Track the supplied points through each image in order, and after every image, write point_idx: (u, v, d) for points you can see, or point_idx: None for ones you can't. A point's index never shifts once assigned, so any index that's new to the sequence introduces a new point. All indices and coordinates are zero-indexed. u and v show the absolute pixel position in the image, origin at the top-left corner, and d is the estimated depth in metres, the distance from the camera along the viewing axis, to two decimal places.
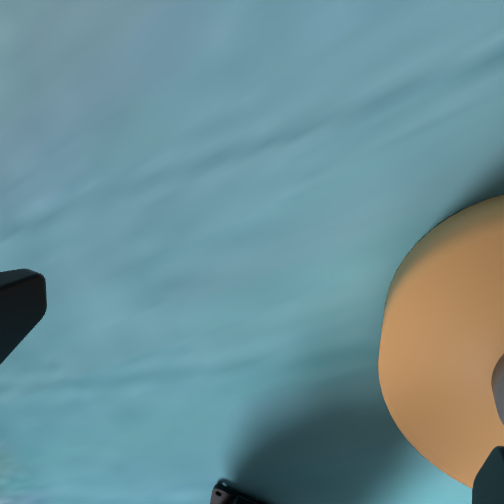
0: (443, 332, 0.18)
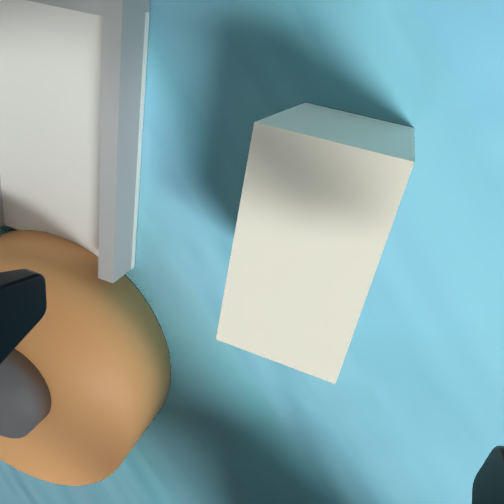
0: (7, 440, 0.24)
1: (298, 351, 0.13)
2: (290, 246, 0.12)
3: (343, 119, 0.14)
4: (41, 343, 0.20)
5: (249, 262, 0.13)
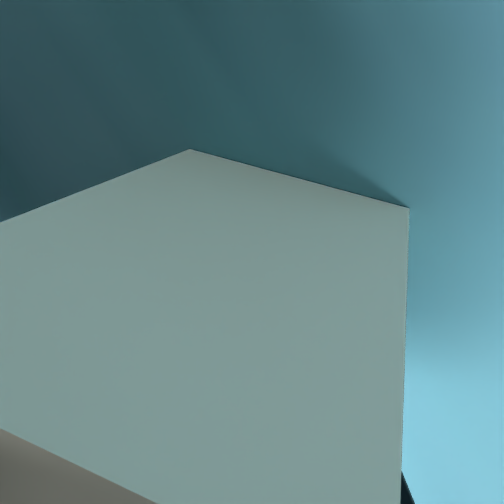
0: None
1: None
2: None
3: (236, 207, 0.06)
4: None
5: None
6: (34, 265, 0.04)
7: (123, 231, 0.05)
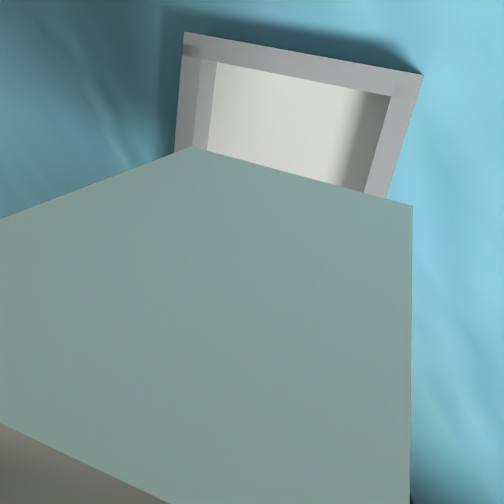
0: None
1: None
2: None
3: (239, 204, 0.06)
4: None
5: None
6: (36, 261, 0.04)
7: (125, 227, 0.05)
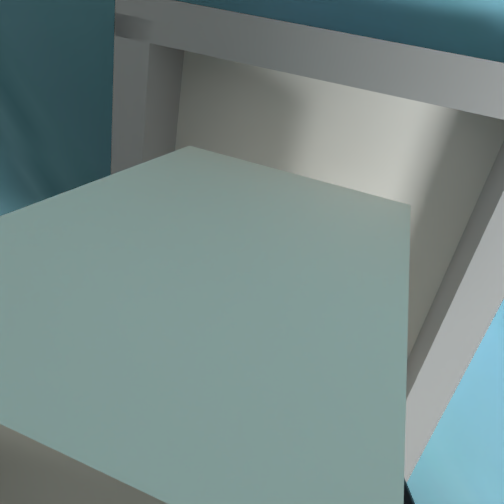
0: None
1: None
2: None
3: (236, 203, 0.06)
4: None
5: None
6: (32, 259, 0.04)
7: (122, 226, 0.05)
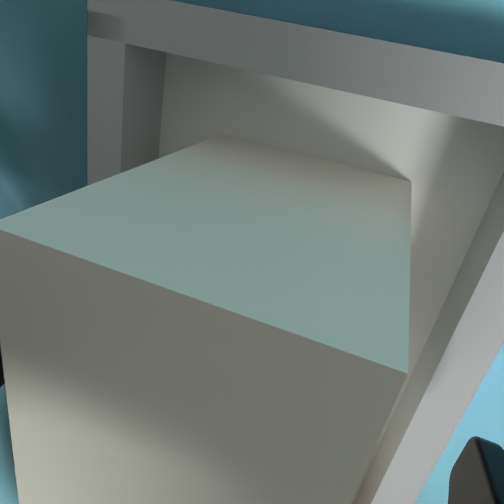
0: None
1: None
2: (124, 494, 0.05)
3: (272, 176, 0.07)
4: None
5: (53, 500, 0.06)
6: (139, 206, 0.05)
7: (193, 188, 0.06)
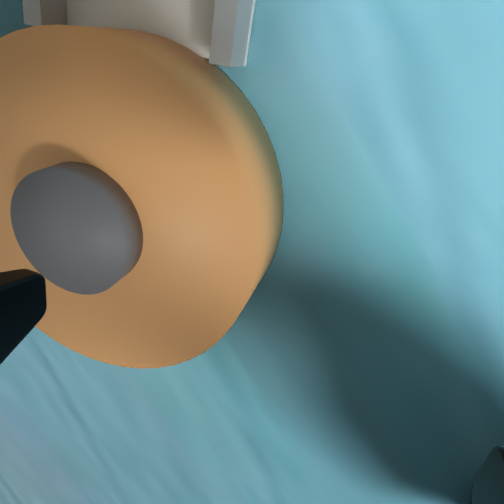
0: (75, 315, 0.19)
1: None
2: None
3: None
4: (137, 149, 0.15)
5: None
6: None
7: None
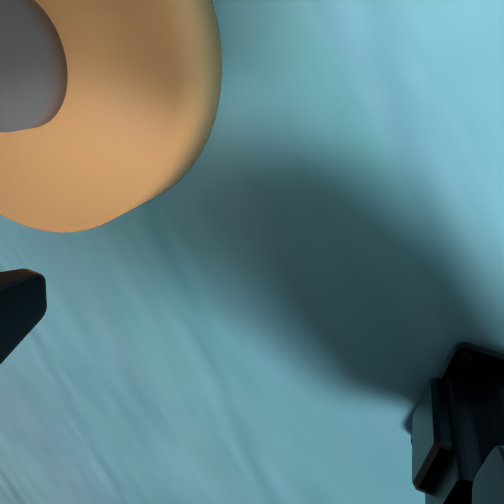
0: (8, 175, 0.19)
1: None
2: None
3: None
4: None
5: None
6: None
7: None
